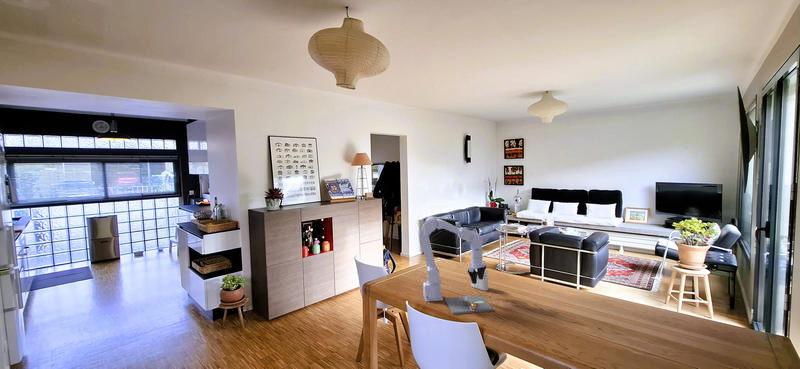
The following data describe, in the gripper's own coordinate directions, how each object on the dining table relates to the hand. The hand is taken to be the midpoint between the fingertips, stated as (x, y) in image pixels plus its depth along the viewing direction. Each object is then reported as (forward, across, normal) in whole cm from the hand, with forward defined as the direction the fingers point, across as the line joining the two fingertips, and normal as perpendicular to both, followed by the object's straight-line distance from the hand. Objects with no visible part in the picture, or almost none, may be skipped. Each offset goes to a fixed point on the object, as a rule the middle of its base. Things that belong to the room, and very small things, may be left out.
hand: (477, 281), depth 168 cm
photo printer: (+10, +13, +5) cm, 17 cm away
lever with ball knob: (+7, -13, -2) cm, 15 cm away
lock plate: (+9, -10, 0) cm, 14 cm away
